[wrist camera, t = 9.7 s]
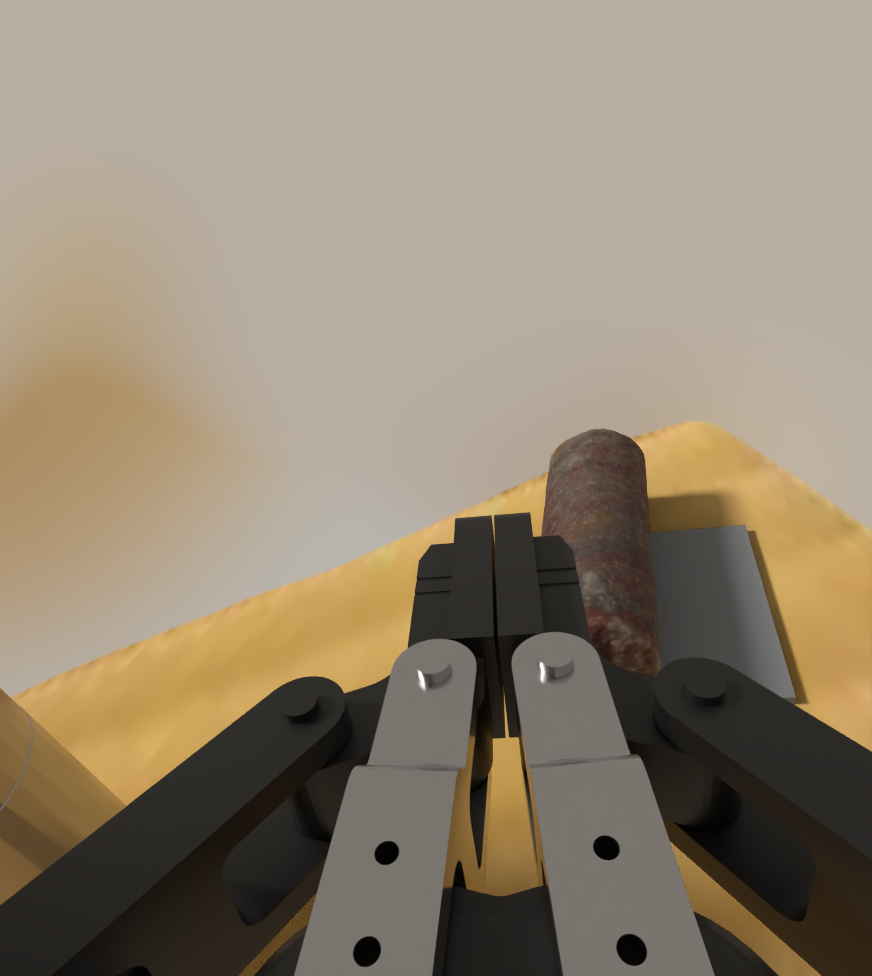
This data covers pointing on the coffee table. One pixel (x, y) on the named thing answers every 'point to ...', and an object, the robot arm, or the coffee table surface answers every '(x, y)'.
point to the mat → (716, 604)
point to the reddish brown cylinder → (608, 542)
